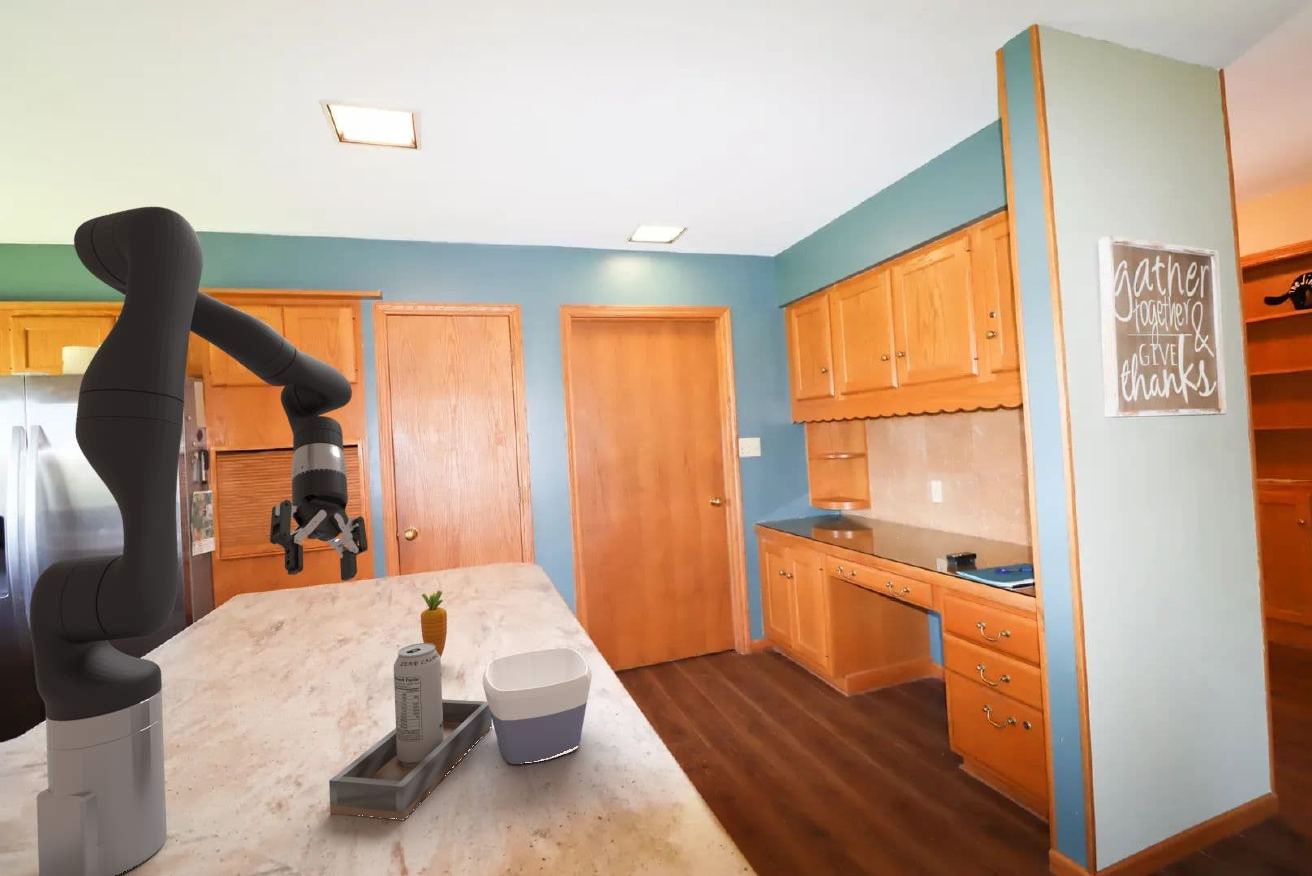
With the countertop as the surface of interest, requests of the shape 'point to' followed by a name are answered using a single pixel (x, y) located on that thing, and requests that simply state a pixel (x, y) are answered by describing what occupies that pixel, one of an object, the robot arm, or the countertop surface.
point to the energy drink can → (418, 702)
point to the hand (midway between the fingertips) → (323, 576)
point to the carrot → (434, 622)
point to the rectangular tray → (398, 789)
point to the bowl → (537, 702)
